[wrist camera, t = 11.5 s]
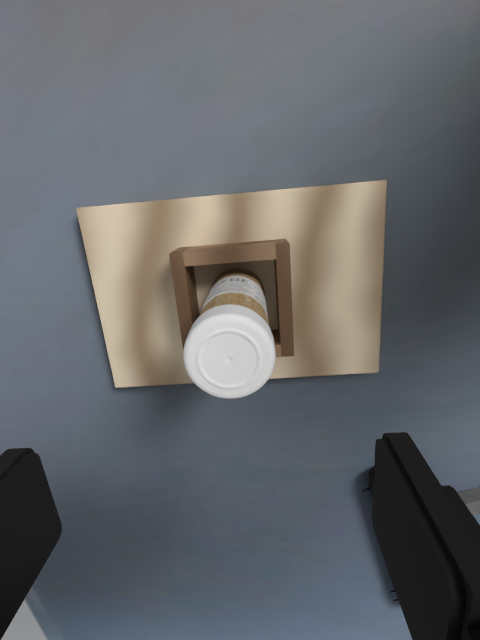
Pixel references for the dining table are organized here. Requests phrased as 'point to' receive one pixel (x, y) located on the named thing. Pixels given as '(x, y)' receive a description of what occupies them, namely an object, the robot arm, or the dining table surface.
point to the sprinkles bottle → (231, 338)
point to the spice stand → (246, 253)
